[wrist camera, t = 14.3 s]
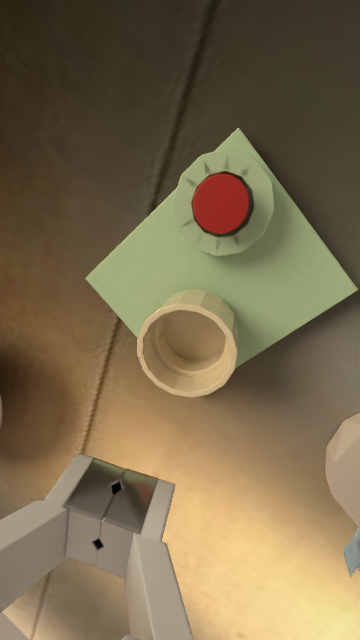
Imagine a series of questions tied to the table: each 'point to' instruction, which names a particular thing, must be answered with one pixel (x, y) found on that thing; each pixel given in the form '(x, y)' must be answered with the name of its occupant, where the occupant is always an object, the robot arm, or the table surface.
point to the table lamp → (346, 480)
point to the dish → (0, 411)
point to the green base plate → (227, 256)
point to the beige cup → (189, 343)
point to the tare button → (221, 203)
